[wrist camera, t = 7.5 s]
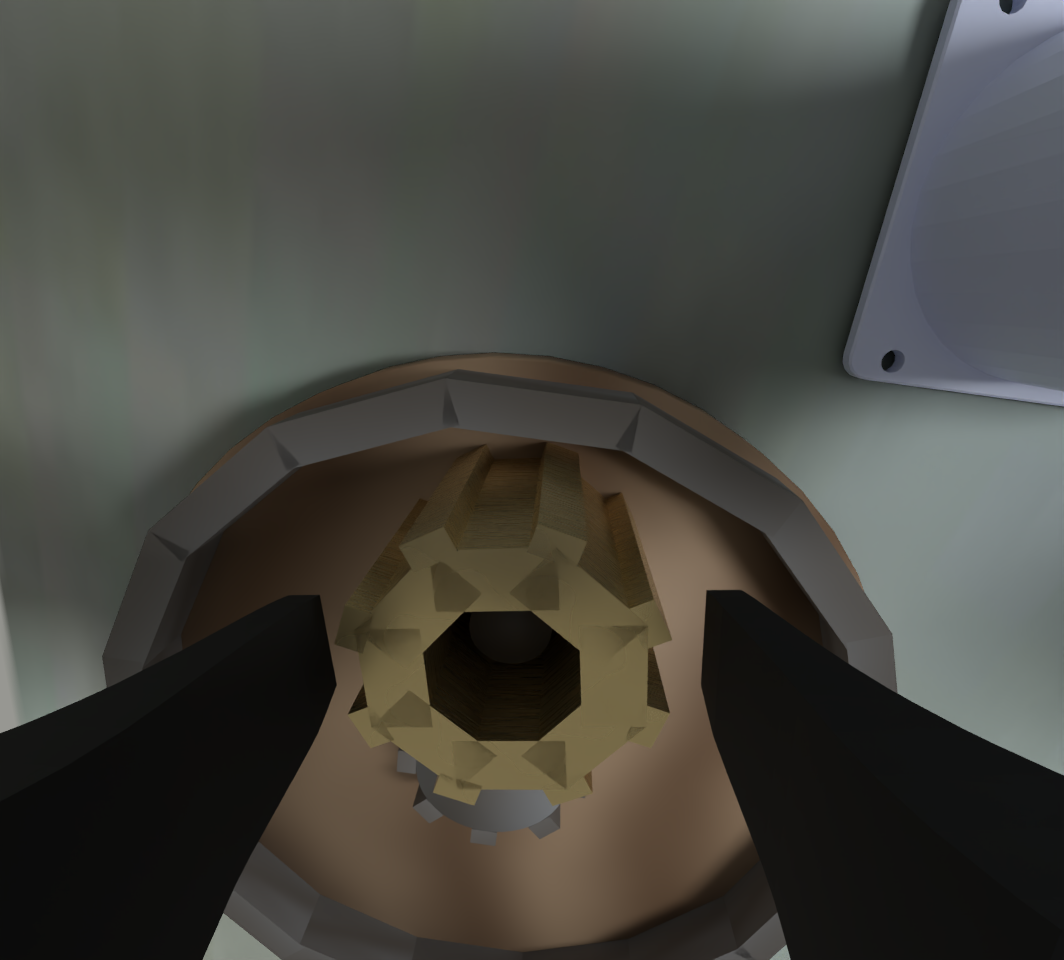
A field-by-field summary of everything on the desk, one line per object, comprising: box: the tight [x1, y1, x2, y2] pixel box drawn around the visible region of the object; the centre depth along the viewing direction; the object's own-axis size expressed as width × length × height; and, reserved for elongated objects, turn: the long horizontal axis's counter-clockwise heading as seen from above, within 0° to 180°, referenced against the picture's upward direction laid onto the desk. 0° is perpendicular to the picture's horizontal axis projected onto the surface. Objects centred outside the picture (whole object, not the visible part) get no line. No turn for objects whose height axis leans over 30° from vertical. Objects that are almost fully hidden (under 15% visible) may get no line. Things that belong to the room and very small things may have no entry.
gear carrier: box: [102, 353, 897, 960], centre depth 15 cm, size 21×21×5 cm
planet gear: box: [334, 442, 672, 806], centre depth 12 cm, size 6×6×5 cm
